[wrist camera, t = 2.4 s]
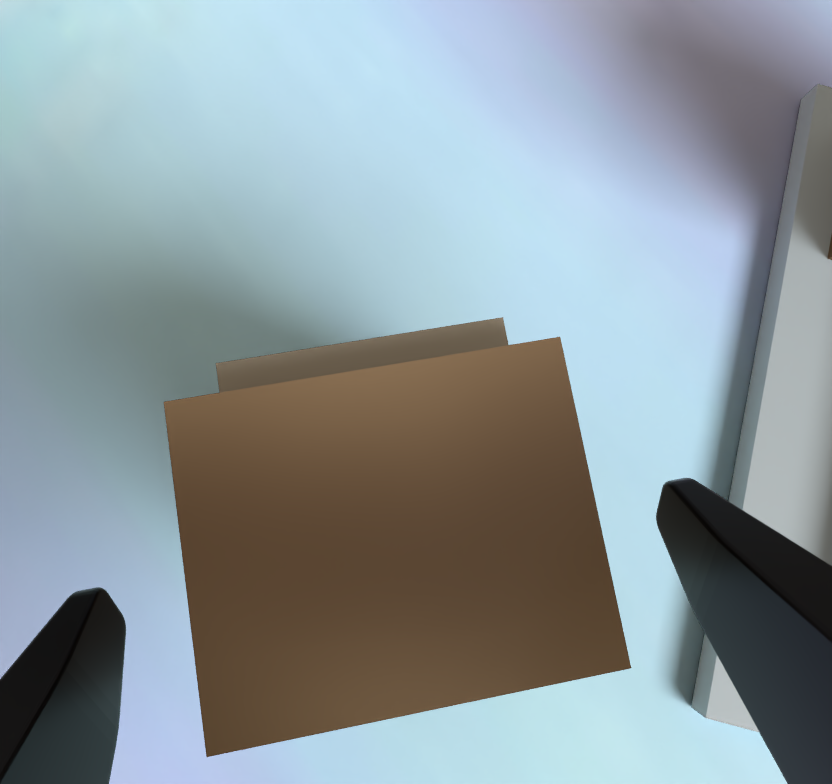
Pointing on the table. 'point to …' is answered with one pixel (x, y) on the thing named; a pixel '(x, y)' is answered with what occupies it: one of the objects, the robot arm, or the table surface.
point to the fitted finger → (830, 250)
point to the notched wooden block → (387, 533)
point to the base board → (788, 383)
